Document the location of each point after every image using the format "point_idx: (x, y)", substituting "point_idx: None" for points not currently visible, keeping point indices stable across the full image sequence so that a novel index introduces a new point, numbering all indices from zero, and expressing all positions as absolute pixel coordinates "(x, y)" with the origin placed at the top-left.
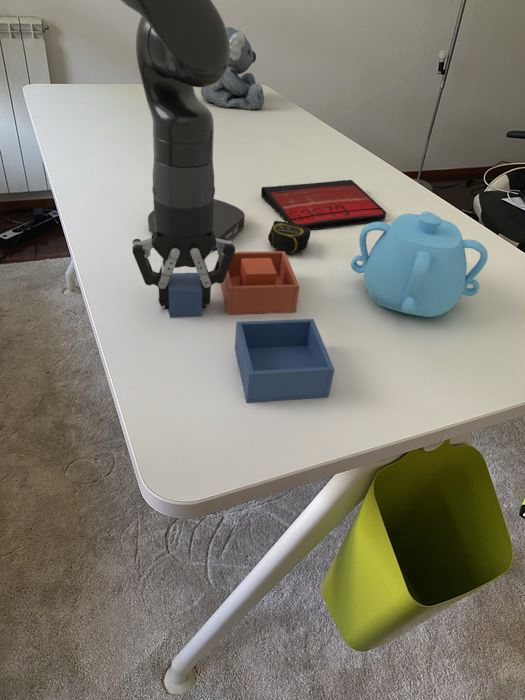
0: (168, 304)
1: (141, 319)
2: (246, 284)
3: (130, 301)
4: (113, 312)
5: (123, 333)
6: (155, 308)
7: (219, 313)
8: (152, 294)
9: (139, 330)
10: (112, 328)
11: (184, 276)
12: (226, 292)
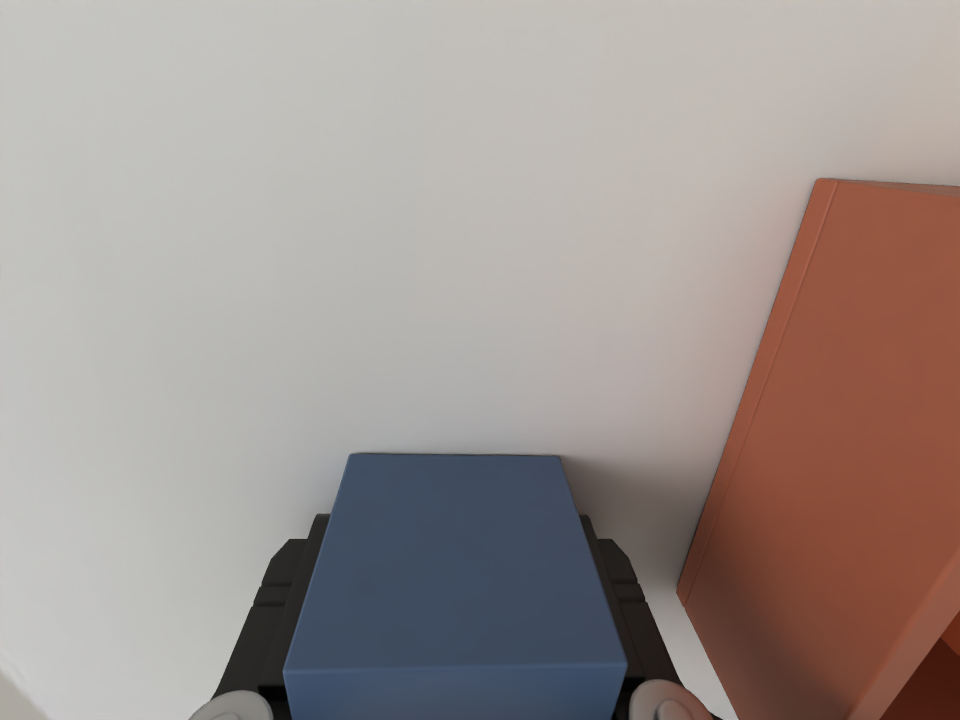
0: None
1: (201, 604)
2: (951, 644)
3: (79, 453)
4: (6, 548)
5: (131, 681)
6: (270, 526)
7: (639, 577)
8: (227, 385)
9: (208, 667)
10: (59, 654)
11: (463, 715)
12: (754, 663)
